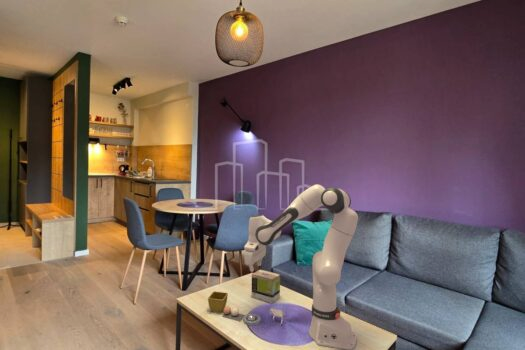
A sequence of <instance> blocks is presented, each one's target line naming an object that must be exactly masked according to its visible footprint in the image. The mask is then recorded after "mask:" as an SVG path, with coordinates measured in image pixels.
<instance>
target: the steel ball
mask: <svg viewBox="0 0 525 350" xmlns="http://www.w3.org/2000/svg"><path fill="white" fill-rule="evenodd" d="M247 320H248V321H251V322H252V321H256V318H255V317H254V315H249V316H248V318H247Z"/></svg>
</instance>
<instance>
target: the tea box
mask: <svg viewBox="0 0 525 350" xmlns="http://www.w3.org/2000/svg"><path fill="white" fill-rule="evenodd" d="M280 293H281V274H280V273H276V272H272V271H268V270H264V269H259V270H257V271H255V272H253V273H251V298H254V299H257V300H260V301H263V302H266V303H270V304H273V303H274V302H276V301H278V299H280V297H281V294H280Z"/></svg>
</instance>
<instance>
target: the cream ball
mask: <svg viewBox="0 0 525 350" xmlns="http://www.w3.org/2000/svg"><path fill="white" fill-rule="evenodd" d="M239 312H240V311H239V309H238V308H237V307H232V308H231V314H232V315H233V316H237V315H238V313H239Z"/></svg>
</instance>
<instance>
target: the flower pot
mask: <svg viewBox="0 0 525 350" xmlns="http://www.w3.org/2000/svg"><path fill="white" fill-rule="evenodd" d="M228 294H229V293H228V292H223V291H214V290H213V292H212V293H210V295H209V296H208V298H207V301H208V308H209V310H210V311H211V312H212V313H213V312H215V313H219V314H220V313H221V314H222V313H223V312H224V311H223V310H224V308H225V307H226V306H227V302H228V297H229V296H228Z"/></svg>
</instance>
